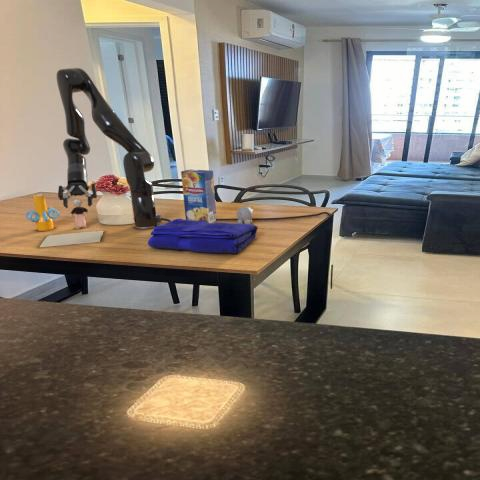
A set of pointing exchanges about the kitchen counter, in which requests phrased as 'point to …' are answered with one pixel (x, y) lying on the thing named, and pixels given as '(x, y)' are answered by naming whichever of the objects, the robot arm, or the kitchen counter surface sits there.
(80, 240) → the cloth
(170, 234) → the towel
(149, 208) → the robot arm
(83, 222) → the grandmother figurine
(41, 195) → the yellow cone toy
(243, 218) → the round bodied animal figurine
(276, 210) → the kitchen counter surface
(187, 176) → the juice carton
